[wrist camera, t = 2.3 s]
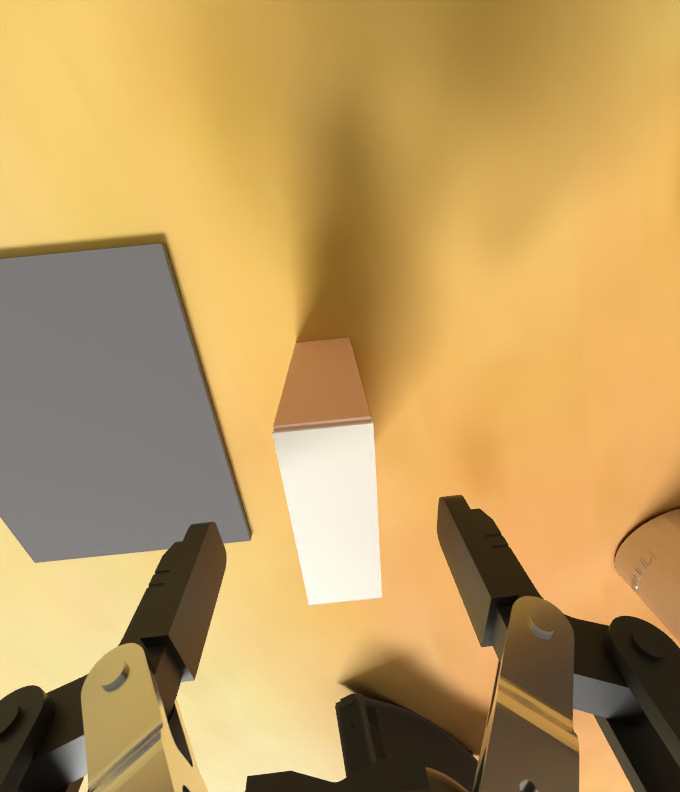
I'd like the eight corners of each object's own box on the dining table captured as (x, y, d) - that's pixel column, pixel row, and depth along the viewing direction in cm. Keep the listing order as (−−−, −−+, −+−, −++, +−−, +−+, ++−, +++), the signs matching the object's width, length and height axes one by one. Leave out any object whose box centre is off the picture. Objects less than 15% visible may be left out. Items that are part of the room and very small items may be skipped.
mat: (164, 243, 15) (161, 243, 15) (251, 536, 24) (250, 540, 24) (-170, 275, 15) (-182, 276, 15) (39, 557, 24) (34, 562, 24)
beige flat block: (350, 336, 18) (372, 417, 10) (359, 465, 22) (381, 600, 14) (294, 342, 18) (271, 428, 10) (314, 470, 22) (309, 607, 14)
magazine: (318, 817, 26) (529, 1040, 28) (349, 806, 25) (564, 1037, 28) (344, 624, 42) (476, 777, 45) (364, 614, 42) (497, 770, 44)
